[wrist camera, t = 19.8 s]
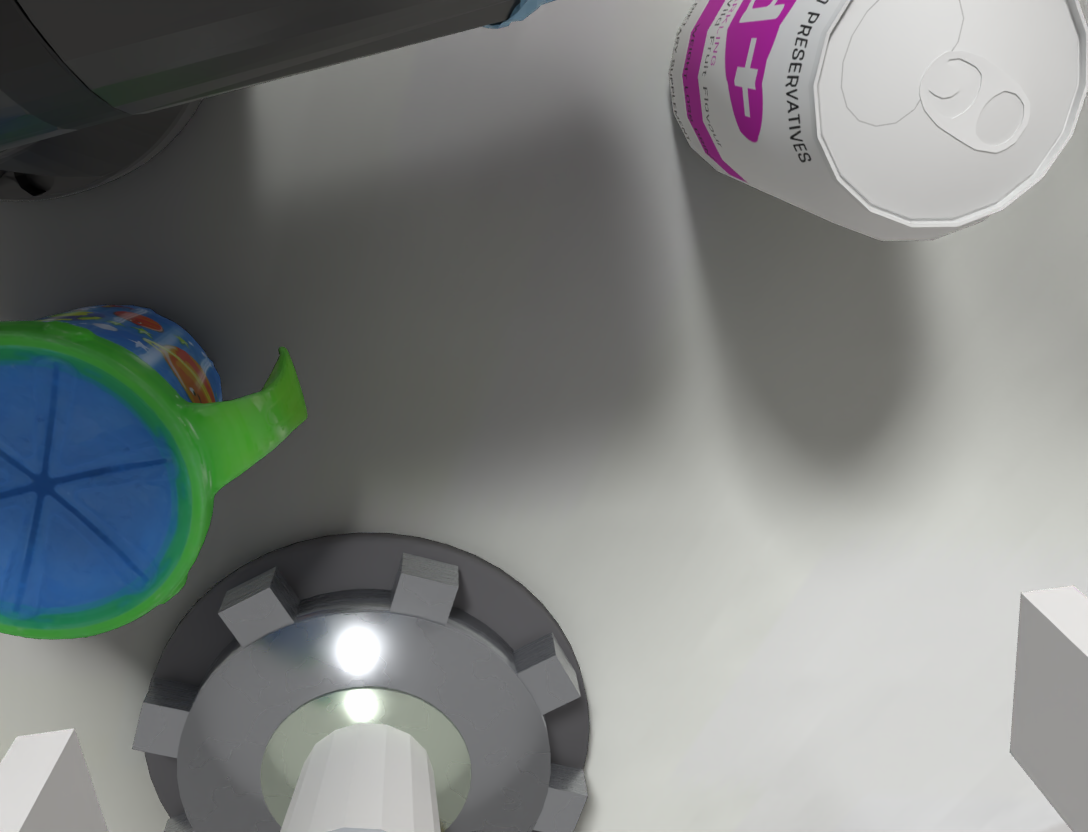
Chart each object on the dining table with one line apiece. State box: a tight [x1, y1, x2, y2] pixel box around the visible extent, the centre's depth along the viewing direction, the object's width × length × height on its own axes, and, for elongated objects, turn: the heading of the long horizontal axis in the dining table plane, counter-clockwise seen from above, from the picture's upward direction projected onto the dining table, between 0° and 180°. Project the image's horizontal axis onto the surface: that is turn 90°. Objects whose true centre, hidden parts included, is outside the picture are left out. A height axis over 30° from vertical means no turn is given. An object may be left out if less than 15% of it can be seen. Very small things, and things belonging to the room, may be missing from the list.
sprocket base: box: [145, 533, 589, 832], centre depth 47 cm, size 20×20×1 cm
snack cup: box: [0, 305, 308, 639], centre depth 36 cm, size 16×10×10 cm
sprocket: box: [132, 553, 588, 832], centre depth 42 cm, size 20×20×9 cm
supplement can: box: [669, 0, 1088, 241], centre depth 32 cm, size 8×8×15 cm
